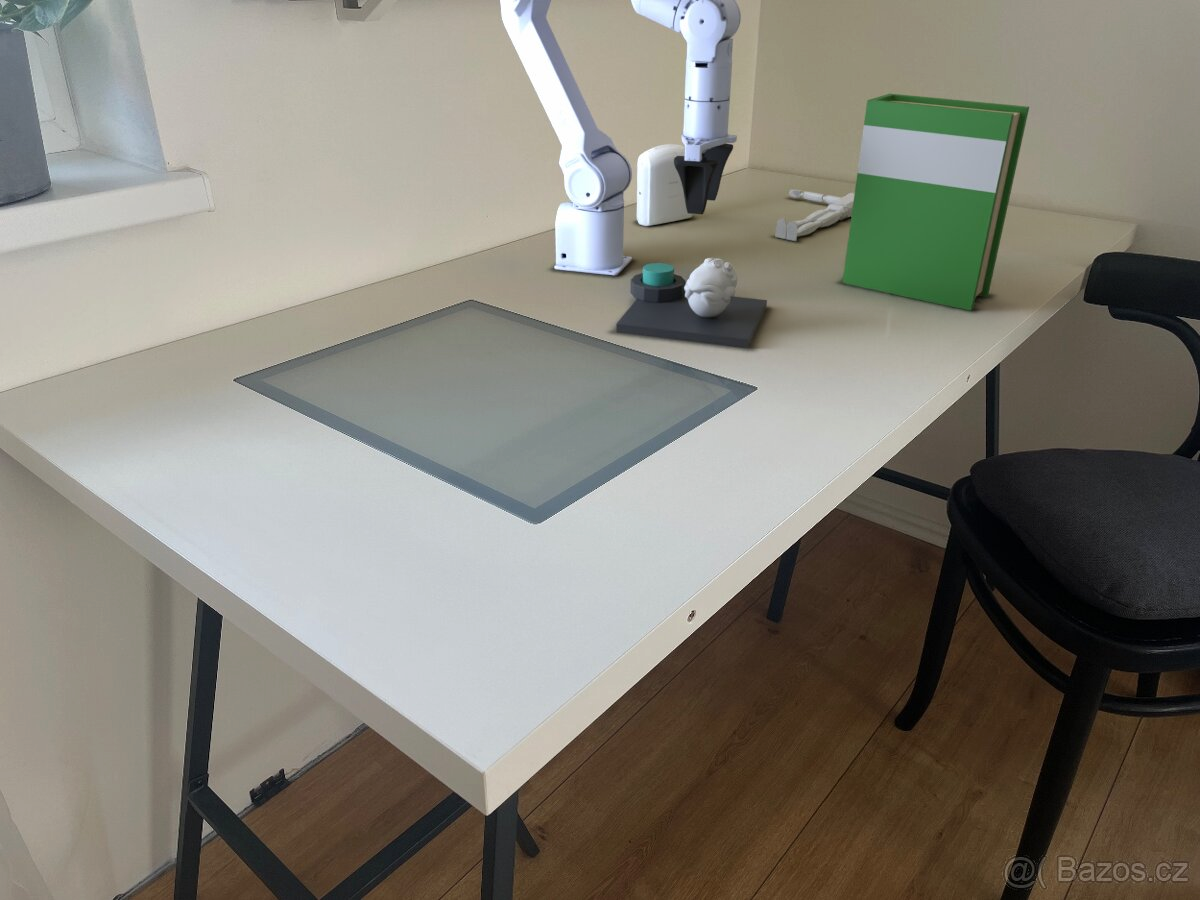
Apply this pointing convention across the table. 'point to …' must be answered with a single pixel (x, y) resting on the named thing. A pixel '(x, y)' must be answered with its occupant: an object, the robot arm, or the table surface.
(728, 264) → the white rounded lumpy piece
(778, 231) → the artist's mannequin
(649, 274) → the button
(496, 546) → the table surface
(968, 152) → the hardback book
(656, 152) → the photo printer
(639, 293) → the scale
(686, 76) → the robot arm
